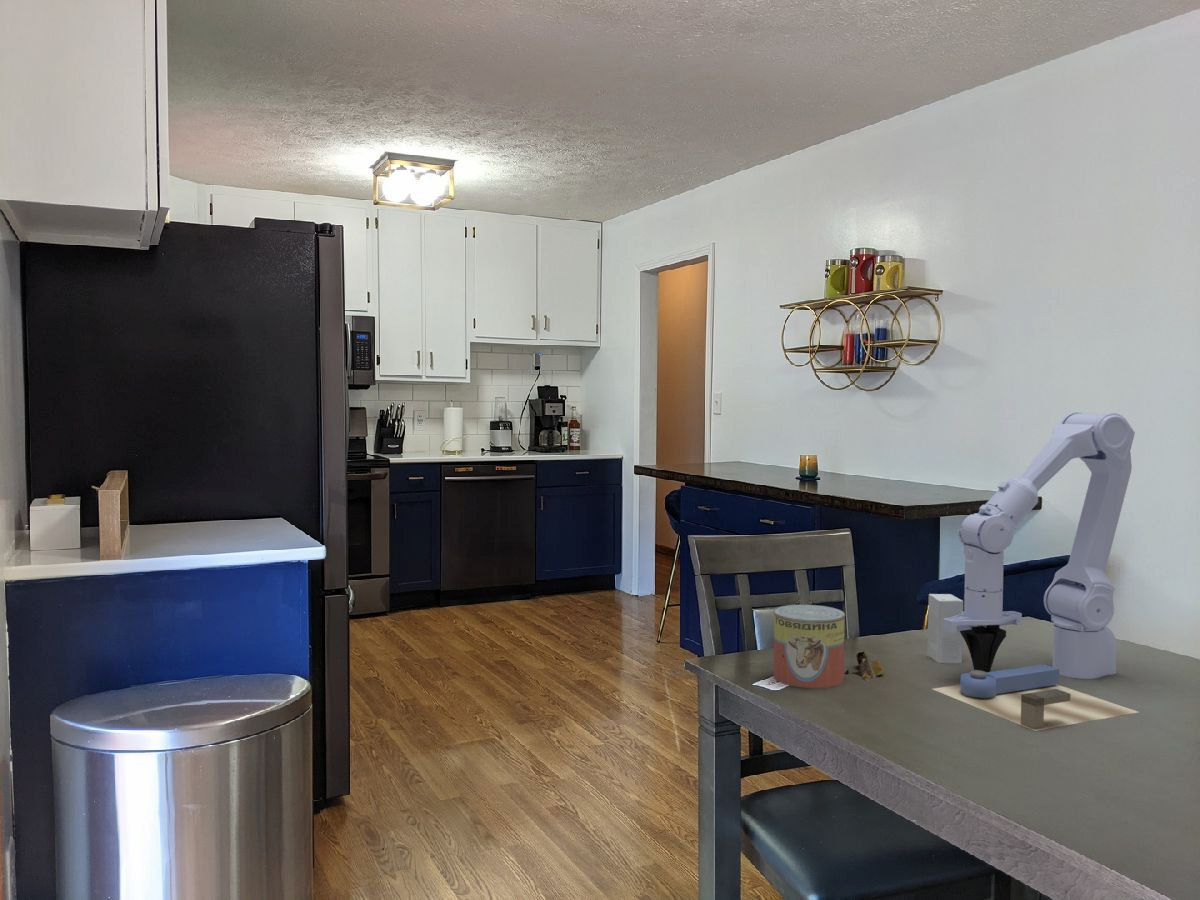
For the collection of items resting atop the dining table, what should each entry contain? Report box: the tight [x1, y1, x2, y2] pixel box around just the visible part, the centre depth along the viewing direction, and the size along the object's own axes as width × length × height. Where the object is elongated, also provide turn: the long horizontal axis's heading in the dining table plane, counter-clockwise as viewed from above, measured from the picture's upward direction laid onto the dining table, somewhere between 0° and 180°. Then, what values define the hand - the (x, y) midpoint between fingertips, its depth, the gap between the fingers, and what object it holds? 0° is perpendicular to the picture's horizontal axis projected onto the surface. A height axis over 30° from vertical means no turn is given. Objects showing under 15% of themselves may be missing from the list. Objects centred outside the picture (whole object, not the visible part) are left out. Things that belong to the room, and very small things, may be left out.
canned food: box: [773, 604, 846, 689], centre depth 150 cm, size 11×11×12 cm
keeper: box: [1020, 689, 1071, 731], centre depth 129 cm, size 6×2×5 cm, turn 112°
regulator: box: [844, 650, 884, 682], centre depth 151 cm, size 8×4×15 cm
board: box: [931, 684, 1140, 732], centre depth 139 cm, size 20×20×1 cm
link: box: [959, 664, 1060, 698], centre depth 144 cm, size 18×5×3 cm, turn 112°
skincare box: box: [926, 593, 964, 664], centre depth 162 cm, size 6×4×12 cm
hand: (981, 672), depth 150 cm, fingers closed
